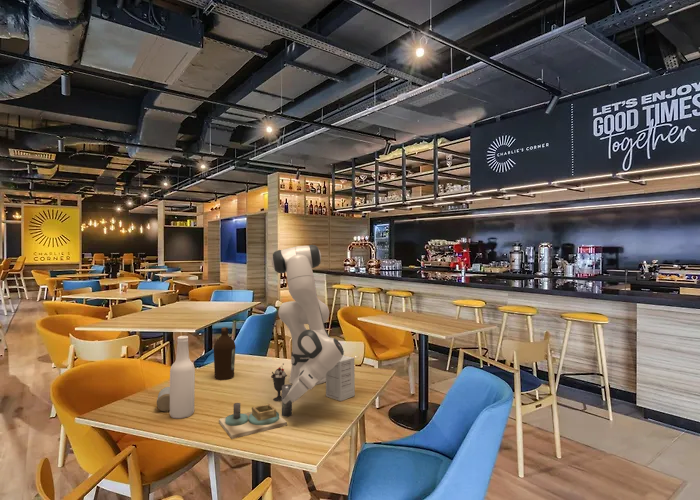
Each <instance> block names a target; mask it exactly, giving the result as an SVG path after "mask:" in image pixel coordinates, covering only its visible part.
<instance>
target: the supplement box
mask: <svg viewBox="0 0 700 500" xmlns="http://www.w3.org/2000/svg"><path fill="white" fill-rule="evenodd" d="M355 375H356V374H355V357H352V356H347V355H343V357H342V358H341V360H340V361H339V362H338V363H337V364H336V365H335V367H334V368H333V369H331V370H330V371H328V372H327V373H326V382H325V397H326V398H330V399H333V400H336V401H339V402H343V401H345V400H348V399H350V398H353V397H355V395H356V392H355V387H356V386H355V385H356V384H355Z"/></svg>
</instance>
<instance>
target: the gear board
mask: <svg viewBox="0 0 700 500" xmlns="http://www.w3.org/2000/svg"><path fill="white" fill-rule="evenodd" d="M218 424H220V426H221V427H222V428H223V430H224V431H225V432H226V434H227V435H228V436H229V438H230V439H231V440H233V439H237V437H238V438H241V437H242V438H243V437H245V436H250V435H253V434H257V433H261V432H265V431H269V430H273V429H278V428H280V427H281V428H282V427H285V426H288V421H286V419H284V417H283V416H282V415H280V413H279V412H278V411H277V409H276V408H275V407H274V406H273V405H271V404H270V403H267V404H262V405H257V406H253V407H251V411H250V412H249V411H248V412H244V413H241V402H234V403H233V413H232V414H230V415H227V416H226V417H221V418H219V419H218Z"/></svg>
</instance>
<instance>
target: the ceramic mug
mask: <svg viewBox="0 0 700 500" xmlns="http://www.w3.org/2000/svg"><path fill="white" fill-rule="evenodd" d="M156 407H157V409H158V410H159V411H161V412H170V386H166V387H164V388H162V389H160V390H159V393H158V395H157V399H156Z"/></svg>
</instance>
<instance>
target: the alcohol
mask: <svg viewBox="0 0 700 500" xmlns="http://www.w3.org/2000/svg"><path fill="white" fill-rule="evenodd" d="M176 342H177V345H176V354H175V355H176V356H175V361H174V362H173V363H172V364H171V367H170V370H169V387H170V411H169V416H170V418H172V419H178V420H179V419H181V420H182V419H185V418H189V417H191V416H192V415H193V414H194V413H195V384H196V383H195V382H196V381H195V379H196V378H195V376H196V374H195V373H196V372H195V371H196V370H195V369H196V368H195V364H194V363H193V362H192V361H191V359H190V352H189V336H188V335H179V336H177V340H176Z"/></svg>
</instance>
